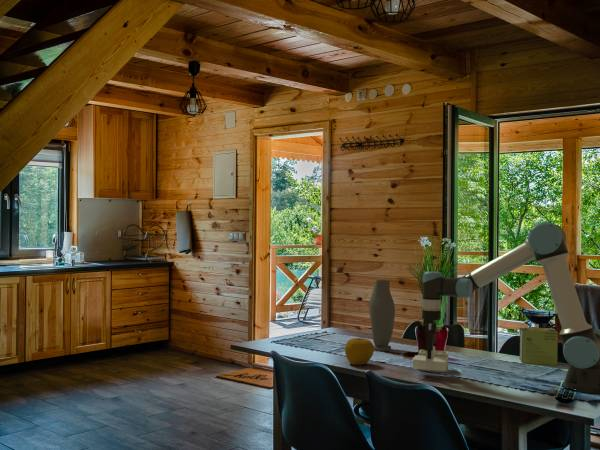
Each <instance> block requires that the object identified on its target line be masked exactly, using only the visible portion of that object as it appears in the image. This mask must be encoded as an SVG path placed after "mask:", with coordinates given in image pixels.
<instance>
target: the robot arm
mask: <svg viewBox="0 0 600 450" xmlns="http://www.w3.org/2000/svg"><path fill="white" fill-rule="evenodd" d="M566 243H567V237H566V233H565V231H564V229H563V228H562V227H561V226H560V225H558V224H556V223H552V222H549V221H544V222H540V223H537V224H535V225H534V226H533V227H532V228H530V230H529V232H528V235H527V237H526V238H525V241H524V242H522V243H520V244H518V245H517V246H515V247H512V248H511V249H510V250H508V251H506V252H504V253H503V254H501V255H499V256H497V257H495V258H494V259H492V260H489V262H486V263H485V264H483V265H481V266H479V267H478V268H476V269H474V270H472V271H470V272H468V273H467V274H465V275H463V276H459V277H446V276H445V277H444V276H443V274H442V272H440V271H425V272H423V275H422V277H423V278H422V300H421V306H422V311H421V319H422V320H425V321H426V320H427V322H426V324H425V329H426V331H425V334H426V341H425V348H423V350H426V367H433V357H435V351H436V346H438V343H436V333H437V323H436V322H437V321H440V320H441V319H442V312H441V309H442V305H443V301H442V297H453V298H454V297H455V298H470V297H471V296H472V294H473V293H474V292H475V291H478V290H479V289H481V288H483V287H485V286H487V285H488V284H490V283H492V282H494V281H495V280H497V279H499V278H501V277H503V276H505V275H507V274H509V273H511V272H512V271H514V270H516V269H518V268H520V267H522V266H524V265H526V264H527V263H530V262H531V261H533V260H535V261H536V263H538V264H539V265H541V266H542V269H543V273H544V276H545V278H546V279H545V280H546V282H547V286H548V288H549V291H550V295H551V298H552V301H553V303H554V306H555V310H556V313H557V317H558V320H559V323H560V326H561V330H560V331H559V333H558V334H559V337H560V340H561V344H562V353H563V357H564V359H565V360H566V362H567V363H568V365H569V366H568V369H567V372H566V375H565V378H564V380H563V387H564V386H565V387H568V388H572V389H576V390H577V391H576V392H579V393H584V394H585V393H586V394H600V329H596V328H593V326H592V324H589V323H588V322H587V319H586V317H585V313H584V310H583V307H582V305H581V302H580V298H579V295H578V293H577V290H576V286H575V284H574V283H575V282H574V280H573V277H572V273H571V271H570V268H569V265H568V261H567V258H568V256H569V250H568V247H567V244H566ZM565 387H564V388H565Z"/></svg>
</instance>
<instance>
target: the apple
mask: <svg viewBox="0 0 600 450" xmlns="http://www.w3.org/2000/svg"><path fill="white" fill-rule="evenodd" d="M374 351H375V350H374V343H372V341H371V340H370V339H368V338H361V337H356V338H355V337H354V338H351V339H350V338H349V339H348V340H347V342H346V343H345V346H344V353H345V356H346V359H347V360H348V363H349V364H350V365H354V366H358V365H359V366H360V365H361V366H362V365H366V364H368V363H369V361H370V360H371V359H372V357H373V355H374V353H375V352H374Z"/></svg>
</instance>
